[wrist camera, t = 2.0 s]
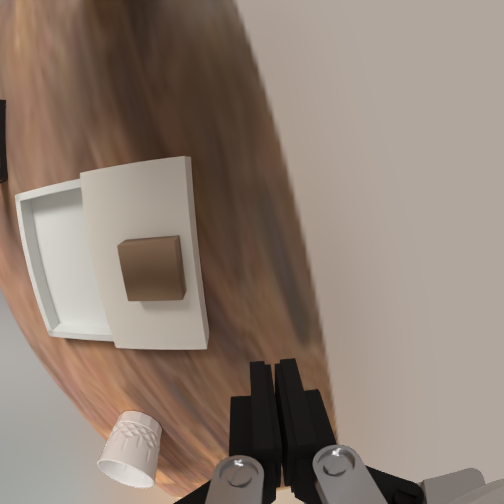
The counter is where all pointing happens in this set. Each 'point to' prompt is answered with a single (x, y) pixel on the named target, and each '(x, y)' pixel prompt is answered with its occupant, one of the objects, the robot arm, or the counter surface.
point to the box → (61, 261)
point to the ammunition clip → (3, 143)
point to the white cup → (132, 450)
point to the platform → (145, 226)
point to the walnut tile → (153, 268)
